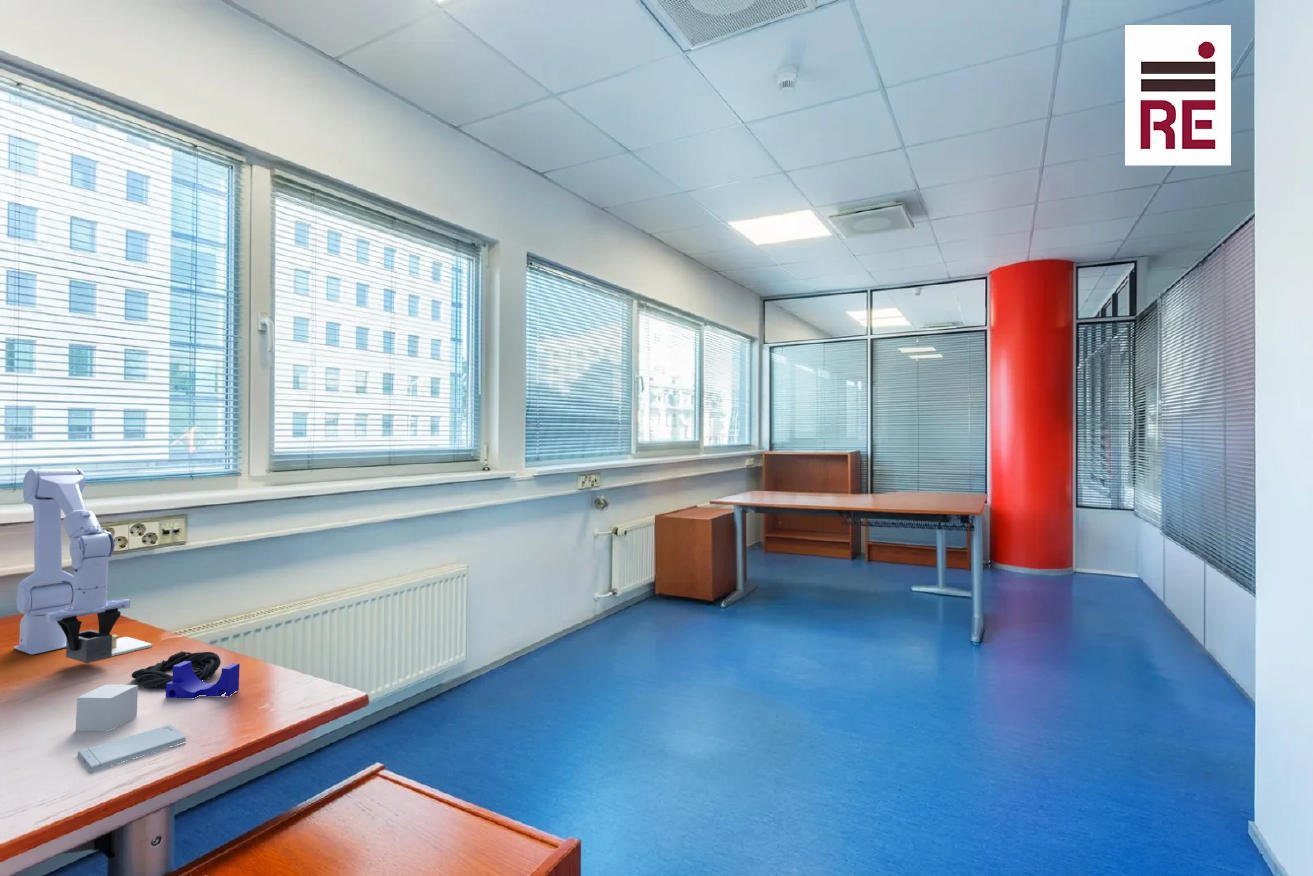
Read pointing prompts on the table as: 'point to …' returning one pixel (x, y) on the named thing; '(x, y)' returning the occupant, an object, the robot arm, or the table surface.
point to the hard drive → (130, 747)
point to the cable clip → (201, 682)
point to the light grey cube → (106, 707)
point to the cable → (159, 679)
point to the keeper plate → (127, 645)
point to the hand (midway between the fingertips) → (88, 646)
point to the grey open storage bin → (91, 647)
